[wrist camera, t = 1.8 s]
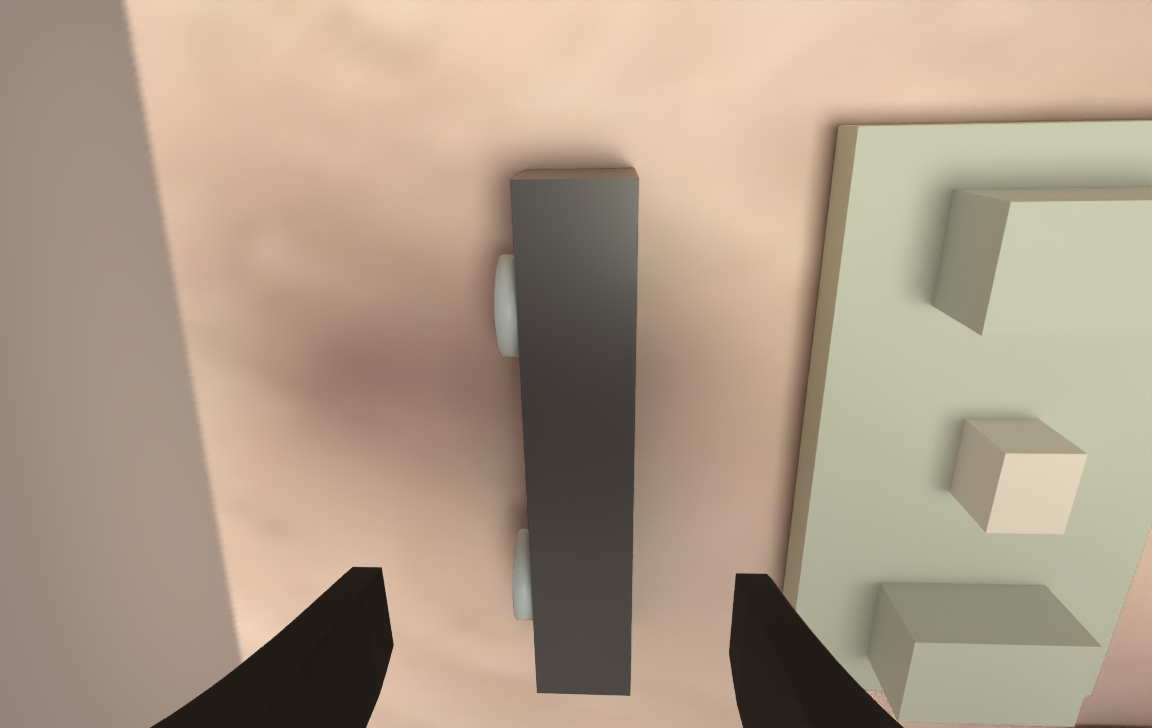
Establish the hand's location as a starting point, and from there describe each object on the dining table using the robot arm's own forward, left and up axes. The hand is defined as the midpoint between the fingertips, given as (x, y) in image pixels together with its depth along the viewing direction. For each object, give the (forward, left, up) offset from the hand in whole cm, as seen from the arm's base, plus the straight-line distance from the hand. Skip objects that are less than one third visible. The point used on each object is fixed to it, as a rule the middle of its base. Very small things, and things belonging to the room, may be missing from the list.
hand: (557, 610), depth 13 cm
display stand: (0, -12, -8) cm, 15 cm away
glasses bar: (0, 0, -8) cm, 8 cm away
